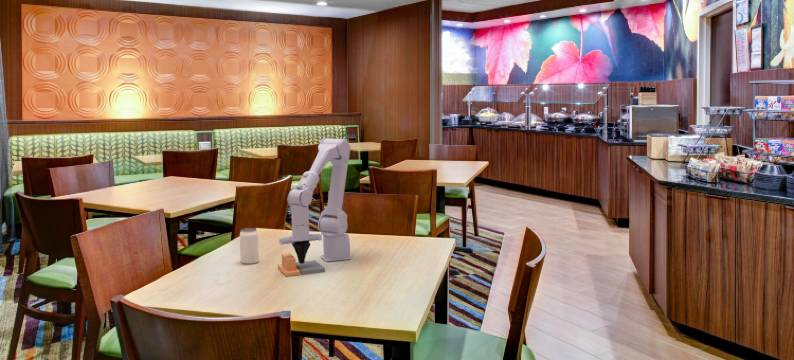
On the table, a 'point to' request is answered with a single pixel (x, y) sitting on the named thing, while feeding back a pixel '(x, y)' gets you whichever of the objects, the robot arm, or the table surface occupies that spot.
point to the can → (249, 246)
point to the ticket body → (310, 267)
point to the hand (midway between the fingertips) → (301, 262)
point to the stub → (288, 265)
